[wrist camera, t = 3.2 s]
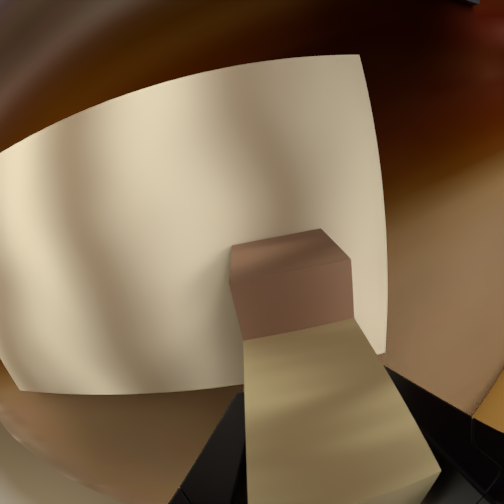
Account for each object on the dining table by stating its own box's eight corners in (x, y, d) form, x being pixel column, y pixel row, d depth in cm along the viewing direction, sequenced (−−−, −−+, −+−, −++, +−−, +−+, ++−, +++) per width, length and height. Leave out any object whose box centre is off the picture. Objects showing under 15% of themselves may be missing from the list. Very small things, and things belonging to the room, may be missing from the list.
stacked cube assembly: (332, 211, 12) (526, 372, 2) (343, 365, 14) (413, 538, 5) (208, 234, 12) (133, 473, 3) (247, 385, 15) (256, 574, 5)
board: (338, 70, 11) (359, 54, 8) (366, 323, 15) (385, 353, 12) (-31, 186, 11) (-61, 194, 9) (37, 366, 15) (19, 390, 13)
